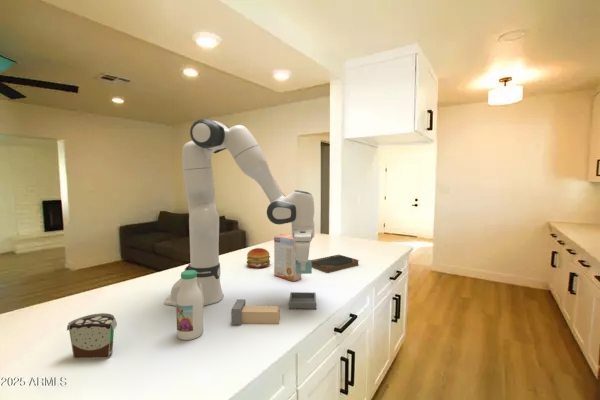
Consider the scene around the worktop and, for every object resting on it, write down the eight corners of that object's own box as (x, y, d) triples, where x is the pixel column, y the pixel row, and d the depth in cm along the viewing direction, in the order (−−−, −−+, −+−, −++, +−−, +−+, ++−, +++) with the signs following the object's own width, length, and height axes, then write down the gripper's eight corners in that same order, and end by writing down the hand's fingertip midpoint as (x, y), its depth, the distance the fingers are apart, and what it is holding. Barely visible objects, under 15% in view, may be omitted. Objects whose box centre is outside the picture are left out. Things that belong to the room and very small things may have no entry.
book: (326, 274, 152) (359, 266, 167) (326, 267, 152) (359, 260, 167) (306, 266, 166) (338, 259, 181) (306, 260, 166) (338, 254, 181)
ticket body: (230, 325, 97) (229, 308, 97) (235, 314, 105) (235, 299, 105) (277, 325, 97) (277, 309, 97) (280, 314, 105) (280, 299, 105)
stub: (296, 273, 111) (296, 263, 111) (295, 269, 116) (295, 259, 116) (311, 273, 112) (311, 263, 111) (310, 269, 117) (310, 259, 116)
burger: (244, 269, 160) (243, 251, 159) (249, 262, 173) (249, 245, 173) (268, 269, 159) (268, 251, 159) (271, 262, 173) (271, 246, 172)
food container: (127, 345, 85) (125, 312, 85) (114, 358, 79) (113, 322, 79) (84, 346, 85) (82, 312, 84) (68, 358, 79) (66, 323, 78)
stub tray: (289, 309, 110) (289, 302, 110) (290, 298, 120) (290, 292, 120) (316, 309, 110) (316, 302, 109) (315, 298, 120) (315, 292, 120)
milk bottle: (194, 325, 97) (193, 266, 96) (208, 333, 92) (206, 271, 91) (172, 335, 91) (170, 272, 90) (185, 343, 86) (183, 277, 85)
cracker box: (302, 279, 143) (302, 237, 142) (293, 282, 139) (293, 238, 137) (282, 273, 153) (282, 233, 151) (273, 275, 148) (273, 235, 147)
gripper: (295, 228, 123) (296, 260, 124) (293, 237, 103) (293, 275, 104) (310, 228, 123) (310, 260, 124) (311, 237, 103) (311, 275, 104)
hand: (303, 267), depth 114 cm, fingers closed on stub, 5 cm apart
